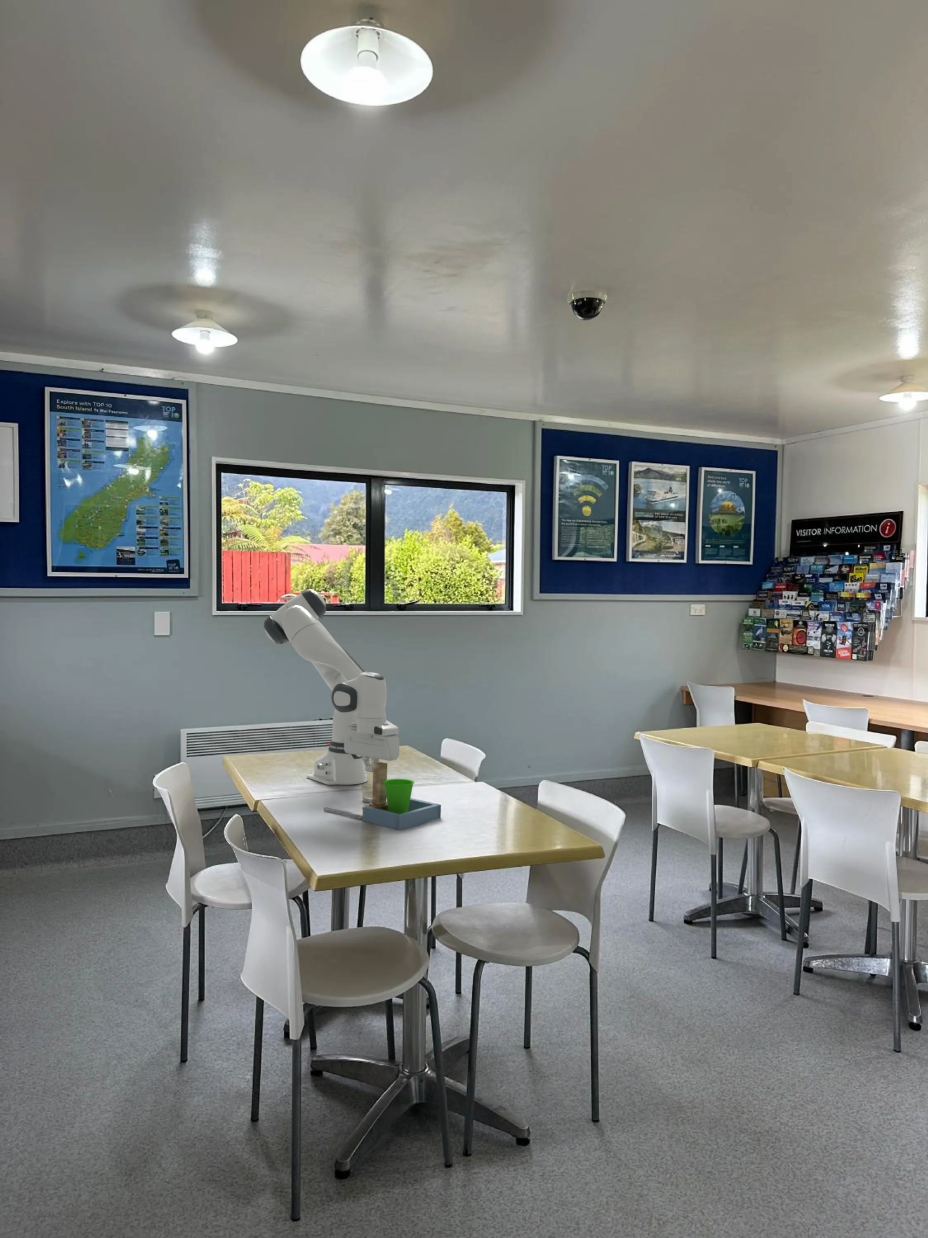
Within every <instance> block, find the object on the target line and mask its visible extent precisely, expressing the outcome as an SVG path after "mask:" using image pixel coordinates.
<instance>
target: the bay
mask: <svg viewBox="0 0 928 1238" xmlns="http://www.w3.org/2000/svg"><path fill="white" fill-rule="evenodd" d="M441 810H442V804H439V803H437V802H436V803H435V802H430V801H425V800H423V799H417V798H413V797H411V798H410V804H409V809H408V812H405V813H402V814H397V813H393V812H389V811H385V810H381V809H377V808H372V807H369V805H366V806H363V807H362V815H363V820H362V821H363V822H366V823H369V824H374V825H378V826H381V827H386V828H390V829H394V830H398V831H401V830H405V829H407V828H408V829H409V828H412V827H414V826H415V827H416V826H419V825H423V824H425V823H428V822H431V821H435V820H439V819H441V816H442V815H441V813H442V811H441Z"/></svg>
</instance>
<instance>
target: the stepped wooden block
mask: <svg viewBox="0 0 928 1238" xmlns="http://www.w3.org/2000/svg"><path fill="white" fill-rule="evenodd" d="M385 780H388V762H385V761H379V762H376V763H373V772H372V796H371V797H372V803H368V807H372V808H377V809H381V810H385V811H388V805H387V797H386V789H385V784H384V781H385Z"/></svg>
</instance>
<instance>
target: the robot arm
mask: <svg viewBox="0 0 928 1238" xmlns="http://www.w3.org/2000/svg"><path fill="white" fill-rule="evenodd" d="M326 611H327V606H326V601H325V600H324V598H323V596H322V595H321V594H320V593H319V592H317V591H315V590H314V589H312V588H308V589H304V590H303V591H301V593H299V594H297V595H295V596H294V597H292V598H290V599H289V600H287V601H286V602H285V603H284V604H282V606H280V607H279V608H278V609H277V610H276V611H274V613H272V614H271V615H268V617H267V618H266V619H265V620H264V621H263V622H264V623H263V628H264V631H265V634H266V637H268V638H269V639H270V640H271V641H272V642H273V643H275V644H277V645H284V644H286V643H288V642H289V643H290V644H291V646H292V647H293V649H294V650H295V653H297V654H298V655H299V656H300V657H301V658H302V659H304V660H305V661H308V662H310V663H311V664H312V665H313V667H314V668H315V670H316V671H317V673H319V675H320V677H321V678H322V680H323V681H324V682H325V684H326V685H327V686H328V688H329V690H330V691H331V695H330V697H331V704H332V706H333V707H334V711H333V716H332V730H331V731H332V735H331V741H326V746H329V747H328V749H327V751H326V752H325V753H324V754H322V756H319V757H318V758H317V759H316V760H315V761H314V767H313V772H311V773H308V774H307V775H306V778H307V779H310V780H313V781H315V782H319V783H321V784H325V785H328V786H331V785H334V786H335V785H341V786H342V785H345V786H346V785H359V784H365V783H366V782H368V774H367V772H369V773H373V763H376V762H380V760H383V761H387V762H390V761H391V762H392V761H396V760H398V759H399V757H400V738H399V736H398V734H399V732H400V729H399V727H398V726H397V725H395V724H393V723H392V722H391V721H389V720H387V713H386V705H387V700H388V699H387V698H388V696H387V695H388V694H387V693H388V692H387V682H386V678H385V677H384V676H383V675H382V674H380V673H377V672H372V671H365V670H364V669H363V668H362V667H361V665H360V664H358V663H357V661H356V660H355V659H354V657H352V656H351V654H350V653H349V652H348V651H347V650H346V649H345V648H344V647H342V646H341V645H340V644H339V643H338V642H337V641H336V640H335V639H334V638H333V636H332V635H331V633H330V632H329V631H328V630H327V628H326V627H325V626H324V625H323V624H322V623H321V622H320V621H319V619H320V620H323V618H324V615H325V614H326ZM370 761H371V762H370Z"/></svg>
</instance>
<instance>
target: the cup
mask: <svg viewBox="0 0 928 1238" xmlns="http://www.w3.org/2000/svg"><path fill="white" fill-rule="evenodd" d="M384 784H385V789H386V797H387V798H386V801H387V805H388V811H389V812H393V813H397V814H402V813H405V812H408V809H409V804H410V798H412V797H411V796H412V793H413V787H414V784H415V781H414V780H412V779H410V778H400V777H398V778H387V780H385V781H384Z"/></svg>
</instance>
